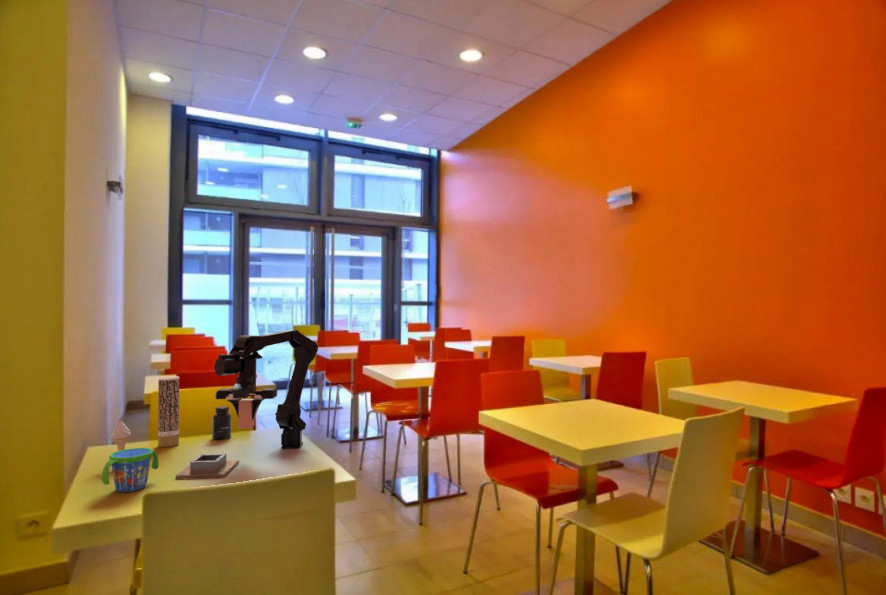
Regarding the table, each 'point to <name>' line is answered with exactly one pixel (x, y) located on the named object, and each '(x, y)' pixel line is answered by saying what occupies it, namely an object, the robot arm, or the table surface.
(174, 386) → the paper tube
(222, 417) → the supplement bottle
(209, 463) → the square socket base
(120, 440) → the ice cream cone
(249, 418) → the red post
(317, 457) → the table surface
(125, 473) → the snack cup
